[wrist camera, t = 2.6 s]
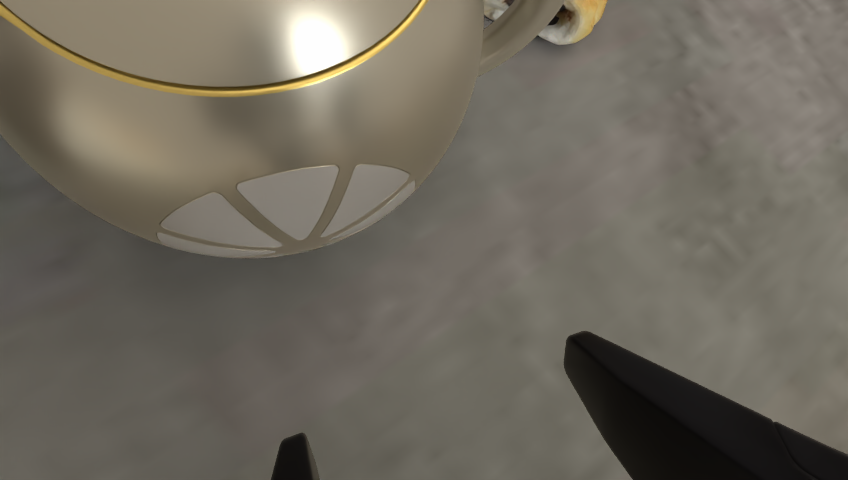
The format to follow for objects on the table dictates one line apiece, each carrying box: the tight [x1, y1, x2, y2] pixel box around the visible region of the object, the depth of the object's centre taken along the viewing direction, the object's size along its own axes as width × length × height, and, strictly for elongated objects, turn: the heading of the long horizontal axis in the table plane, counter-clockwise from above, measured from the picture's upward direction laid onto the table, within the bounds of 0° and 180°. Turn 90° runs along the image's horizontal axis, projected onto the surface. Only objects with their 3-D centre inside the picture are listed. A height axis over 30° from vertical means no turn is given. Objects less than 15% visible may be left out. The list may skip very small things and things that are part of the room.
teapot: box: [0, 0, 565, 258], centre depth 14 cm, size 18×14×16 cm
